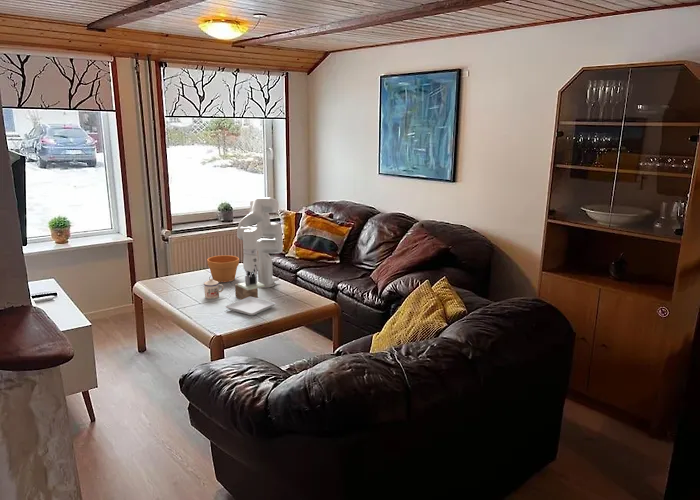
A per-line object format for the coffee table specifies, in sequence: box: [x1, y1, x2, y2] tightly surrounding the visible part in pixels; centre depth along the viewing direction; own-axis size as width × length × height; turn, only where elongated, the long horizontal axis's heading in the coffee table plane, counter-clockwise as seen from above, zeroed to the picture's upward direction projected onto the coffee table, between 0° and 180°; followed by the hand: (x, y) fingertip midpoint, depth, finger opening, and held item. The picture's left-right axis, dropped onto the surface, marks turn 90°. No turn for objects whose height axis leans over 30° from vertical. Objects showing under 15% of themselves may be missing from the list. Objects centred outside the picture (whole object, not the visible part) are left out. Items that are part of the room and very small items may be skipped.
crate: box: [234, 283, 259, 300], centre depth 335 cm, size 10×10×8 cm
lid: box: [237, 274, 265, 290], centre depth 308 cm, size 11×11×6 cm
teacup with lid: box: [203, 278, 224, 300], centre depth 335 cm, size 12×9×12 cm
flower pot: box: [206, 254, 240, 283], centre depth 370 cm, size 21×21×15 cm
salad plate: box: [225, 296, 277, 316], centre depth 315 cm, size 21×21×3 cm
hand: (251, 282), depth 308 cm, fingers closed on lid, 2 cm apart
